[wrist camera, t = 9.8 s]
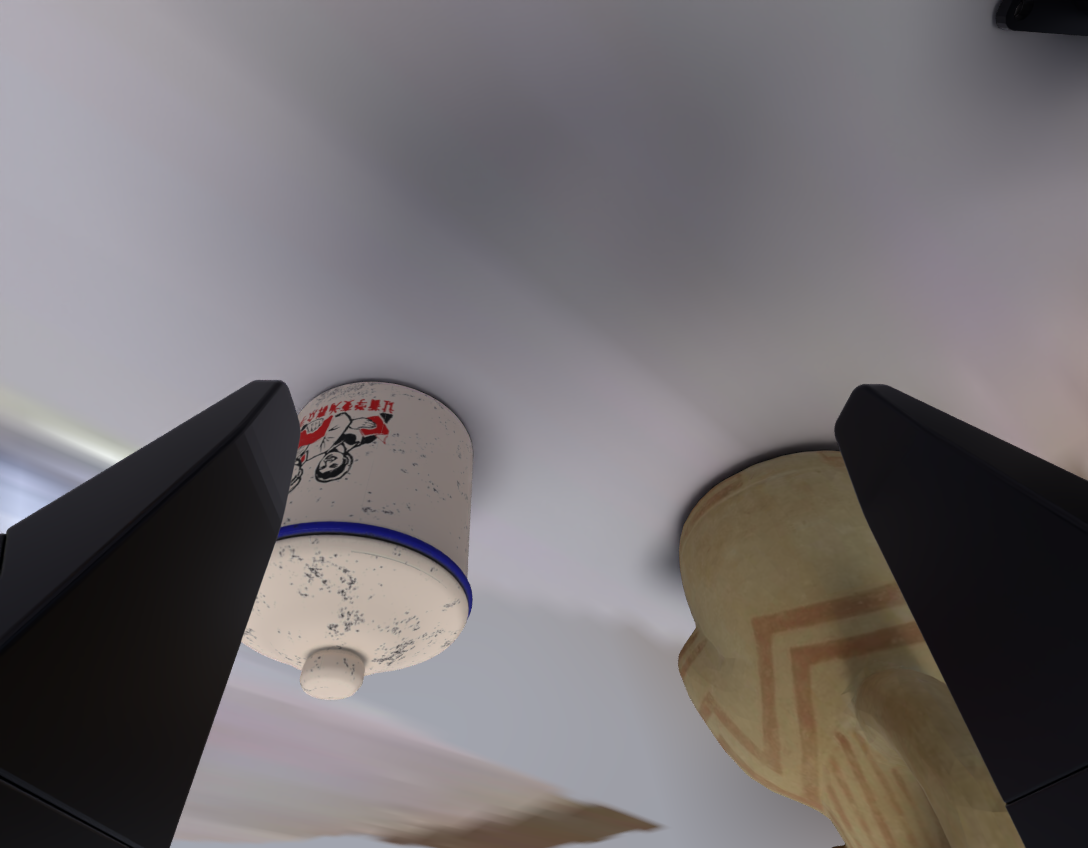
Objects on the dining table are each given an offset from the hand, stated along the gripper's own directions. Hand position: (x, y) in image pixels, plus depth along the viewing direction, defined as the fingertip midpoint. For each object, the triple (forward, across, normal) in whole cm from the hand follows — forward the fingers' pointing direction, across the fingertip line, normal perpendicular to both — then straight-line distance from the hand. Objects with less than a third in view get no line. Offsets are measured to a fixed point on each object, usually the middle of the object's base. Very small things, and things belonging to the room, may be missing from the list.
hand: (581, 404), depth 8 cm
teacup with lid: (+13, +8, +14) cm, 21 cm away
